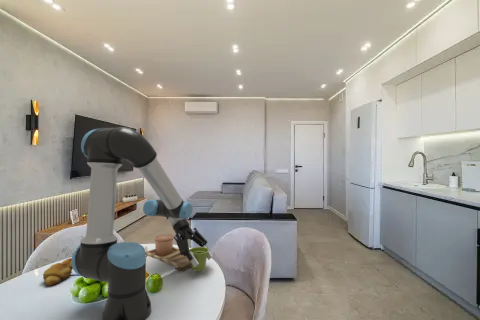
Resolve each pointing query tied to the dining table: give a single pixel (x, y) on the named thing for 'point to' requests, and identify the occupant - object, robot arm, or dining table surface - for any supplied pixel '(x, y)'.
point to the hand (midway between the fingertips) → (203, 261)
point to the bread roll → (58, 272)
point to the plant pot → (199, 257)
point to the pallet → (172, 259)
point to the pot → (164, 244)
